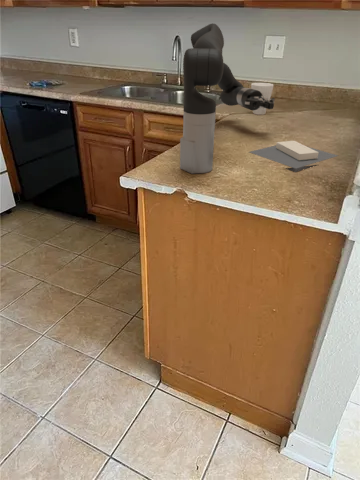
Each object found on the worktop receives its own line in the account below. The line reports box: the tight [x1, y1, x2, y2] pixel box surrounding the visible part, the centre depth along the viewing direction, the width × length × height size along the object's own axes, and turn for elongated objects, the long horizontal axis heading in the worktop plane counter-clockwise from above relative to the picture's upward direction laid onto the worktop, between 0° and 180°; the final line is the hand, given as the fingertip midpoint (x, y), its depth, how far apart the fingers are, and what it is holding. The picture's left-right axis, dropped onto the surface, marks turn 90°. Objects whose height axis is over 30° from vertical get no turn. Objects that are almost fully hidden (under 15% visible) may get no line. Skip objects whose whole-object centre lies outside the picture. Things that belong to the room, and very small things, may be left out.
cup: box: [250, 82, 274, 116], centre depth 184 cm, size 10×10×14 cm
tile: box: [275, 140, 319, 161], centre depth 127 cm, size 2×7×14 cm
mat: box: [249, 144, 339, 173], centre depth 128 cm, size 22×20×1 cm
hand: (271, 106), depth 136 cm, fingers closed
